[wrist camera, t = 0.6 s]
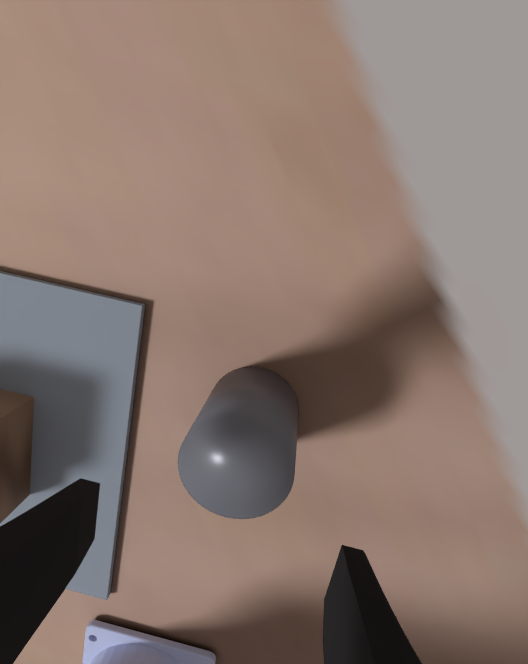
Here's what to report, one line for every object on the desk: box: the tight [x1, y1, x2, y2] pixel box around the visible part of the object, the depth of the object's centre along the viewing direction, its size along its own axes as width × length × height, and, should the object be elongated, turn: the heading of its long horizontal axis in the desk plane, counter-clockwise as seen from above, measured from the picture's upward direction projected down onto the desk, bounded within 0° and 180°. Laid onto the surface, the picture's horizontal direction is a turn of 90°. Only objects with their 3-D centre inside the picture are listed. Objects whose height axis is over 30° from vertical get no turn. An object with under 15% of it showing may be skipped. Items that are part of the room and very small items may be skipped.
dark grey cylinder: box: [178, 367, 299, 519], centre depth 18 cm, size 4×4×5 cm
